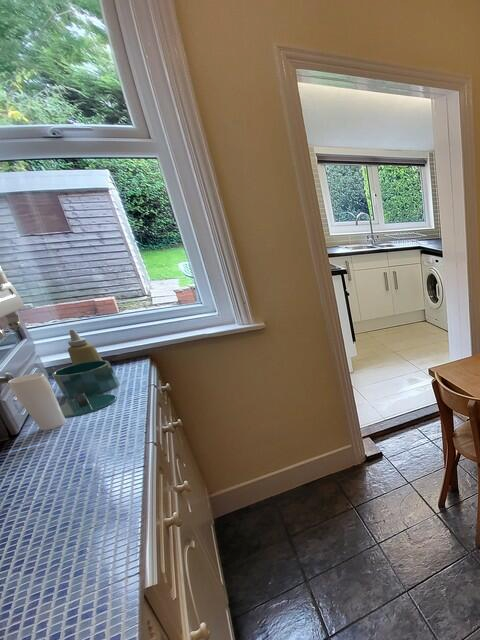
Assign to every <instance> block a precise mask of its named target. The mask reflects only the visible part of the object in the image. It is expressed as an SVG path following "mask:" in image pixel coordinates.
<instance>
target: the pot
mask: <svg viewBox="0 0 480 640" xmlns="http://www.w3.org/2000/svg"><path fill="white" fill-rule="evenodd" d="M51 375H52V377H53V379H54V381H55V383H56V385H57V387H58V388H59V390H60V392H61V394H62V395H63V397H64V399H67V400H75V398H74V396H73V395H75V394H78V393H85V395H86V397H90V396H96V395H102V394H104V393H106V392H109V391H112V390H113V389H115V388H118V386H119V385H120V382H119V379H118V377H117V375H116V373H115V371H114V369H113V367H112V365H111V363H110V361H108V360H105V359H104V360H103V359H102V360H99V361H90V362H83V363H79V364H75V365H73V364H71V365H68V366H64V367H61V368H59V369H56V370H54V371H53V372H52V373H51Z"/></svg>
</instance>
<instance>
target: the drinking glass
mask: <svg viewBox="0 0 480 640" xmlns="http://www.w3.org/2000/svg"><path fill="white" fill-rule="evenodd" d="M7 384H8V386H9V388H10V389H11V392H12V394H13V395H14V396H15V398H16V399H17V400H18V402H19V403H20V404H21V406H22V407H23V408H24V410H25V411H26V413H28V415H29V416H30V417H31V419H32V420H33V422H34V423H35V424H36V425H37V428H39V430H40V431H48V430H49V431H50V430H53V429H56V428H60V427H62V426H64V425H66V424H67V423H68V421H67V419H66V418H65V417H64V415H63V413H62V410H61V408H60V406H61V405H60V404H59V401H58V399H57V396H56V394H55V391H54V389H53V387H52V385H51V383H50V381H49V379H48V378H47V376H46V374H45V373H43V372H36V373H29V374H24V375H20V376H17V377H14V378H11V379H9V380H8V381H7Z"/></svg>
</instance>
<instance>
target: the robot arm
mask: <svg viewBox="0 0 480 640" xmlns="http://www.w3.org/2000/svg"><path fill="white" fill-rule="evenodd" d="M24 307H25V303H24V300H23V299H22V297H21V296H20V294H19V293H18V291H17V290H16V288H15V286H14V285H13V283H12V282H10V280H9V279H8V277H7V275H6V273H5V271H4V270H3V268H2V266H1V265H0V319H1V318H3V317H6V319H7V321H8V327H9V328H10V330H12V331H17V330H21V329H23V324H22V322H21V318H20V313H19V310H21V309H24ZM6 337H7V334H6V333H5V331H4V329H1V328H0V340H1V339H4V338H6Z"/></svg>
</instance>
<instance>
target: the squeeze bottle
mask: <svg viewBox="0 0 480 640" xmlns="http://www.w3.org/2000/svg"><path fill="white" fill-rule="evenodd" d="M68 331H69V337H70V340H67V344H68V345H69V347H68V348H67V353H68V355H69V357H70V361H71V364H72V365H75V364H79V363H83V362H90V361H99V360H103V358H102V357H101V355H100V353H99V352H98V350H97V349H96V348H95V346H94V344H92V343H89V342H88V340H87V337H81V336H80V335H79V334H78V332H77V331H76V330H75V329H69V330H68Z"/></svg>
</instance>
